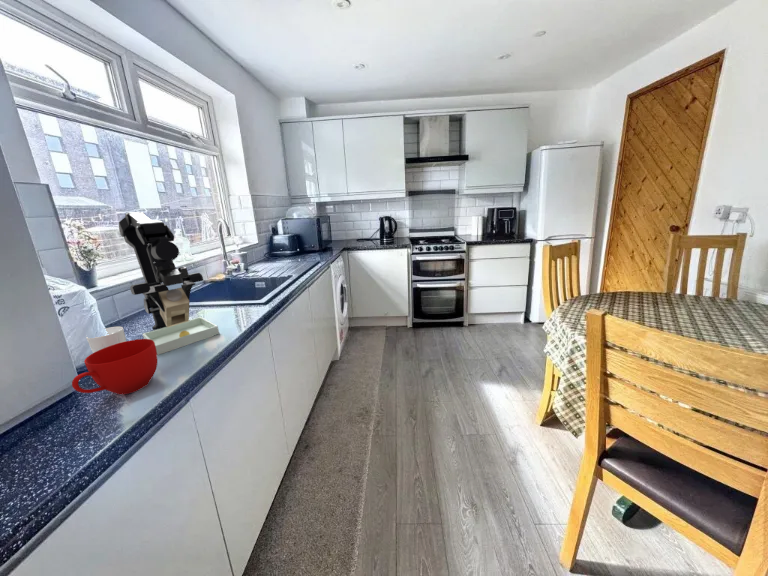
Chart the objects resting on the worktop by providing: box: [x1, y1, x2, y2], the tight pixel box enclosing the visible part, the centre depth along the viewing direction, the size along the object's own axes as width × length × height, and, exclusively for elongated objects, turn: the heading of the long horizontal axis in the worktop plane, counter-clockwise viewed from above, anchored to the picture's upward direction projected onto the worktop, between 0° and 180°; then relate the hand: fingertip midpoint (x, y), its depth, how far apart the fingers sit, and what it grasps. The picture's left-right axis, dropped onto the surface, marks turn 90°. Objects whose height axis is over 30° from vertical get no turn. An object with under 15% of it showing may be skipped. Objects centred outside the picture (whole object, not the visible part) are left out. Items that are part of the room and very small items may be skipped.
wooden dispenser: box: [159, 287, 190, 328], centre depth 99 cm, size 6×6×12 cm
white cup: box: [85, 326, 127, 354], centre depth 86 cm, size 8×8×10 cm
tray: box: [142, 316, 220, 356], centre depth 102 cm, size 16×18×3 cm
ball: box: [179, 331, 190, 337], centre depth 99 cm, size 3×3×3 cm
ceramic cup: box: [71, 338, 158, 396], centre depth 71 cm, size 13×17×10 cm
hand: (176, 308), depth 98 cm, fingers closed on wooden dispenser, 6 cm apart
